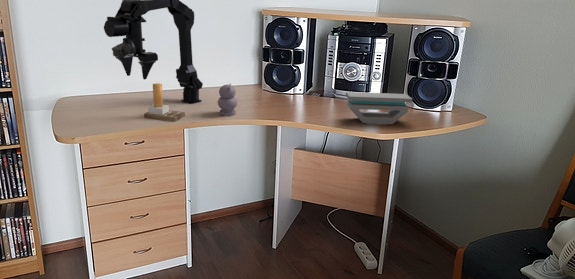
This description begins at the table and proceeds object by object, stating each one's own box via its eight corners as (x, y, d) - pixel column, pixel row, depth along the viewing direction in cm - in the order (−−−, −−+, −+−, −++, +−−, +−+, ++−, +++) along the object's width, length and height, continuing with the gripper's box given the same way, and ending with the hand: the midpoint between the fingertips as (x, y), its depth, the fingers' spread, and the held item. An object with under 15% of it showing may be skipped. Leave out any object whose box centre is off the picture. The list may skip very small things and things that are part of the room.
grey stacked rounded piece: (218, 110, 180) (218, 82, 176) (237, 111, 181) (237, 82, 177) (217, 116, 172) (216, 86, 168) (236, 117, 173) (237, 87, 169)
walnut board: (154, 112, 174) (154, 108, 173) (184, 115, 171) (184, 112, 171) (144, 117, 166) (143, 113, 166) (175, 121, 164) (175, 117, 163)
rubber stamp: (154, 109, 171) (153, 82, 168) (168, 111, 170) (167, 83, 167) (148, 113, 167) (146, 84, 163) (162, 114, 166) (161, 86, 162)
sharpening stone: (346, 123, 173) (349, 96, 169) (343, 117, 180) (345, 91, 177) (408, 125, 175) (412, 98, 171) (402, 119, 182) (406, 94, 178)
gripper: (98, 34, 157) (102, 76, 163) (132, 39, 148) (135, 84, 153) (124, 32, 166) (127, 72, 172) (158, 37, 157) (160, 80, 162)
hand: (136, 77), depth 164 cm, fingers open, 9 cm apart
